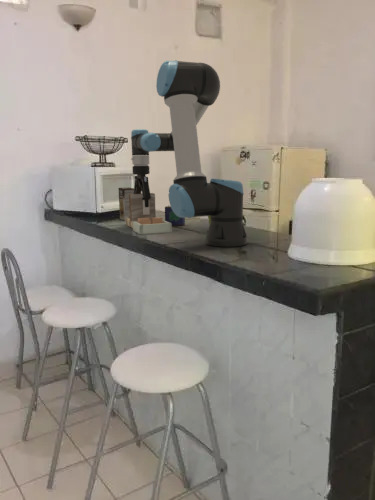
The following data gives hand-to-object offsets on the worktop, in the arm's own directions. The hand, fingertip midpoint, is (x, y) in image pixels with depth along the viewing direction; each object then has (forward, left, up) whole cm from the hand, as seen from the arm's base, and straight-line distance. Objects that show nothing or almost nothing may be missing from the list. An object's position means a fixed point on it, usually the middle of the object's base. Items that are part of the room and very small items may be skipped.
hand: (142, 212), depth 209 cm
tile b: (-11, +3, -3) cm, 12 cm away
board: (+1, 0, -6) cm, 6 cm away
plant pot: (-26, -26, -7) cm, 37 cm away
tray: (-15, 0, -6) cm, 16 cm away
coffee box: (+27, 0, -7) cm, 28 cm away
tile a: (-11, -3, -3) cm, 12 cm away
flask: (-3, -14, -7) cm, 16 cm away
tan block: (0, 0, -3) cm, 3 cm away
